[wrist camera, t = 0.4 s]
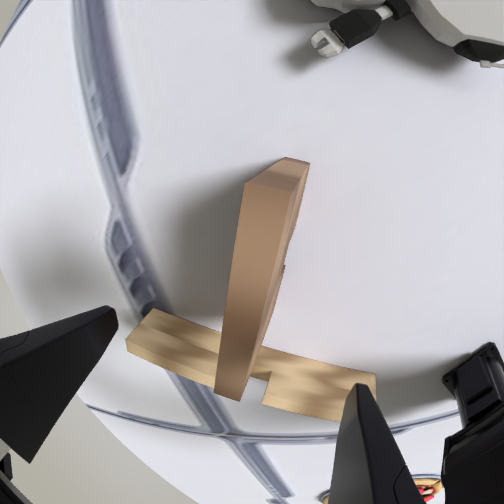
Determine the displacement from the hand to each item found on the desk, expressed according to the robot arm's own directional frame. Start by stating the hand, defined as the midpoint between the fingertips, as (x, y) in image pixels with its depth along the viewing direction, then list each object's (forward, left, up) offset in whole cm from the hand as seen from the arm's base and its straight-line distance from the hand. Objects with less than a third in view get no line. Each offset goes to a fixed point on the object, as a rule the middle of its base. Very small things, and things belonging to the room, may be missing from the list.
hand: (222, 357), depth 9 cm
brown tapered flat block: (0, +1, -12) cm, 12 cm away
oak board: (-6, +10, -12) cm, 17 cm away
